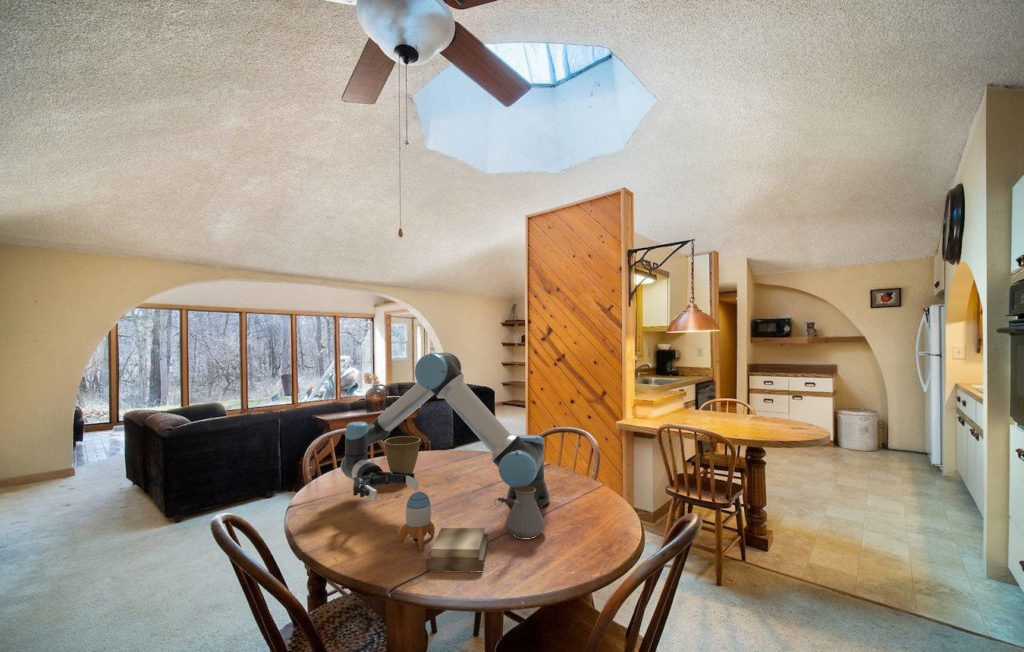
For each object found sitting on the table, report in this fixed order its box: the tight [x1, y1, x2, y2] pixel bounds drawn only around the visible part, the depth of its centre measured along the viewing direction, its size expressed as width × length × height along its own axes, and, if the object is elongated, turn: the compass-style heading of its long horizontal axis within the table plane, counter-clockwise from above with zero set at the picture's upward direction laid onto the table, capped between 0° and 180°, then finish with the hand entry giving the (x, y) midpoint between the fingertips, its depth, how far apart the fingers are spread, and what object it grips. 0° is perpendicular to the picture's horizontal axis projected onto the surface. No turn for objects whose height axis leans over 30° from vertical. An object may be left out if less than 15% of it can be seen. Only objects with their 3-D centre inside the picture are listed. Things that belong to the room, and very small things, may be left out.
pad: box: [425, 527, 489, 573], centre depth 109 cm, size 14×14×5 cm
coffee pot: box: [493, 486, 546, 538], centre depth 119 cm, size 21×12×15 cm, turn 150°
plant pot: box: [383, 435, 421, 473], centre depth 176 cm, size 15×15×16 cm
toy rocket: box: [398, 491, 436, 553], centre depth 117 cm, size 10×11×15 cm
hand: (397, 490), depth 125 cm, fingers open, 13 cm apart
